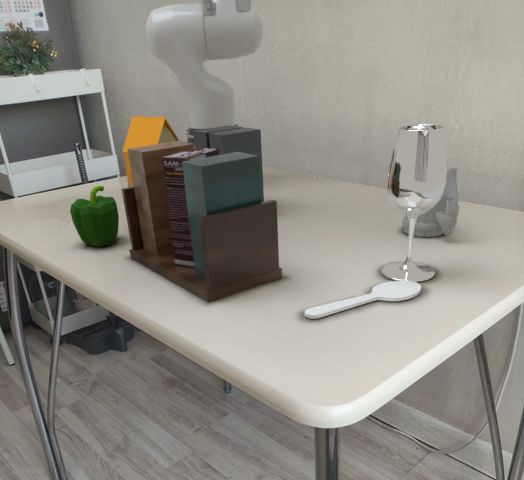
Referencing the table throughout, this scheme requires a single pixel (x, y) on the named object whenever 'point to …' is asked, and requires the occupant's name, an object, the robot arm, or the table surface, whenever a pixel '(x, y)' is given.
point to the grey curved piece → (439, 212)
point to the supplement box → (181, 201)
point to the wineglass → (415, 187)
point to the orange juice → (146, 137)
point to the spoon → (369, 298)
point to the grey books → (232, 142)
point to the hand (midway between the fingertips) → (226, 14)
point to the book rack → (204, 221)
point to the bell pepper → (96, 219)
